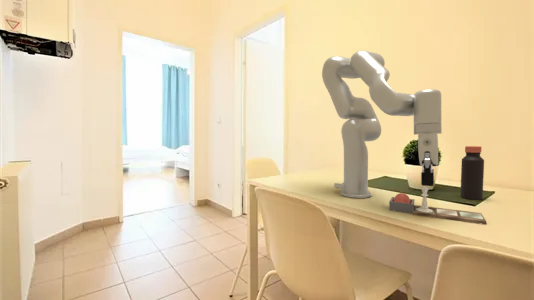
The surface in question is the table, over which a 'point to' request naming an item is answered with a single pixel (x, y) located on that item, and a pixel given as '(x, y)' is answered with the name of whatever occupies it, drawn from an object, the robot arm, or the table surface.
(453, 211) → the game board
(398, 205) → the dome housing
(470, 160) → the bottle
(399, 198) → the pop dome
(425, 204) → the chess piece
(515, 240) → the table surface
